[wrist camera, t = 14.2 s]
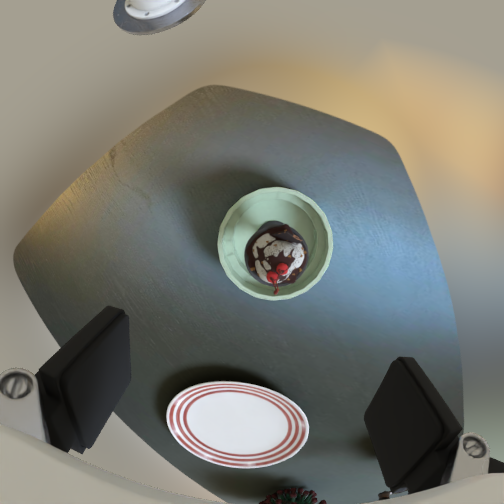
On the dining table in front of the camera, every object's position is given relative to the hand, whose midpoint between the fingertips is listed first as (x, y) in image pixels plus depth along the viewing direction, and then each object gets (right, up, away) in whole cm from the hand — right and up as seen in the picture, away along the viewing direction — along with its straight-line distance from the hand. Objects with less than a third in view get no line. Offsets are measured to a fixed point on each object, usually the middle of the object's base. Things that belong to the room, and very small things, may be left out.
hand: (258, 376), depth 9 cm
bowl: (+3, +6, +31) cm, 31 cm away
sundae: (+3, +6, +30) cm, 31 cm away
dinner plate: (-3, -29, +40) cm, 49 cm away
